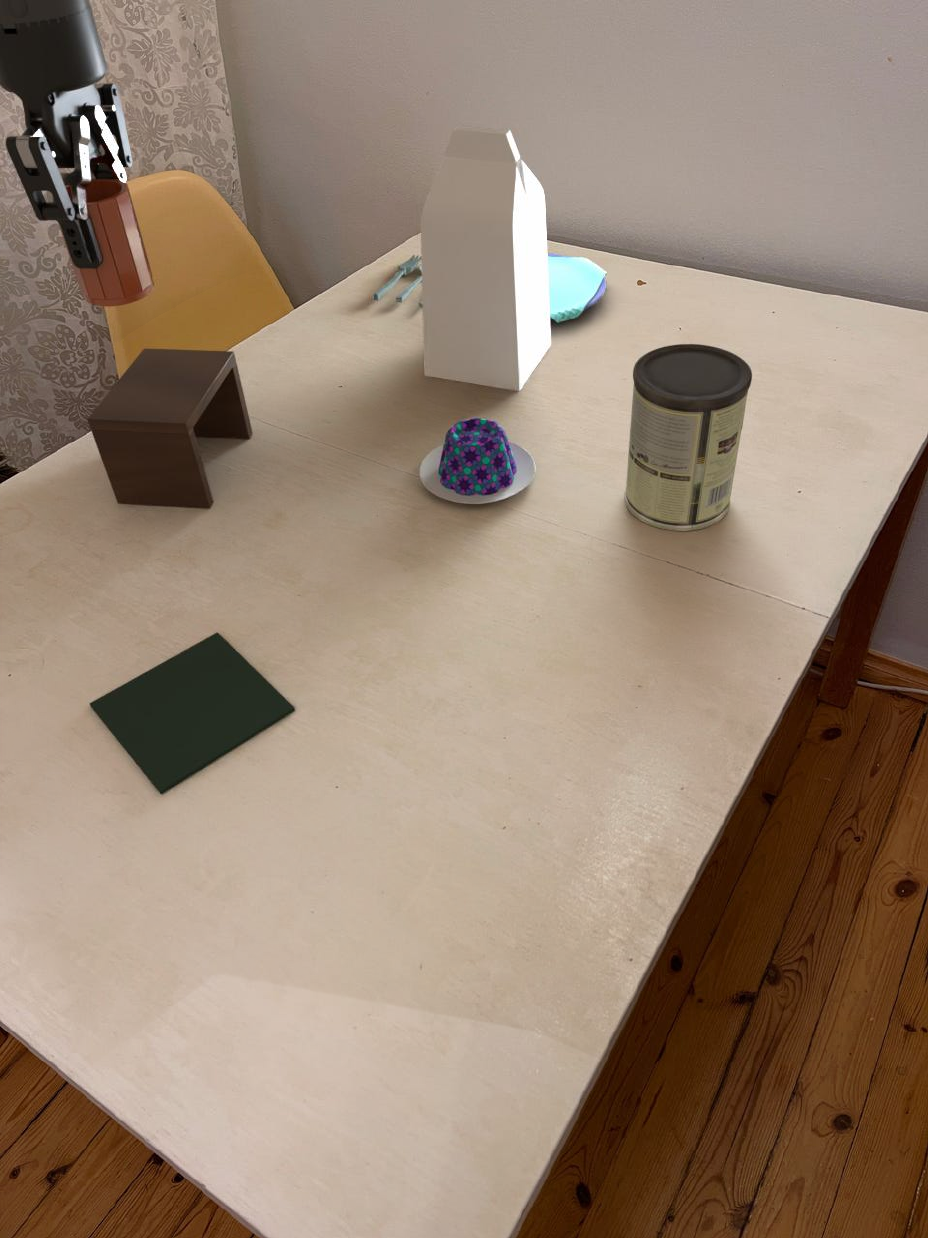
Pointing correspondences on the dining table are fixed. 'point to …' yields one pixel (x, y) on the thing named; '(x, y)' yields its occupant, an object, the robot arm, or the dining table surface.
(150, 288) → the cup
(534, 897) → the dining table surface
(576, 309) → the cutlery set
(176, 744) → the mat
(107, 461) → the shelf
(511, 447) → the pudding
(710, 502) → the coffee can
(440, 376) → the milk
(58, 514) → the dining table surface
